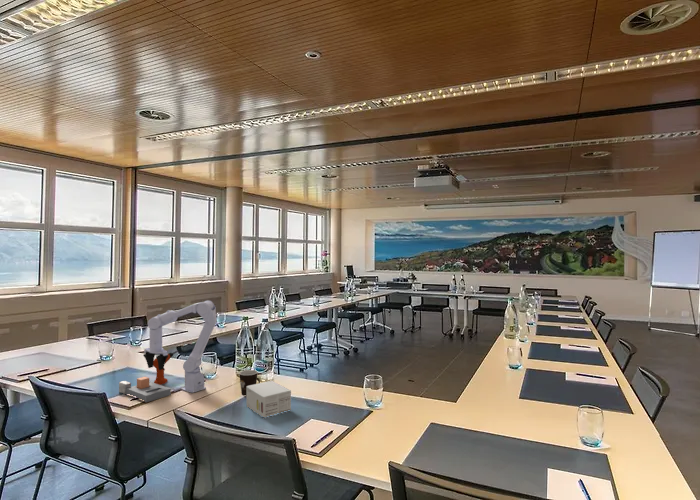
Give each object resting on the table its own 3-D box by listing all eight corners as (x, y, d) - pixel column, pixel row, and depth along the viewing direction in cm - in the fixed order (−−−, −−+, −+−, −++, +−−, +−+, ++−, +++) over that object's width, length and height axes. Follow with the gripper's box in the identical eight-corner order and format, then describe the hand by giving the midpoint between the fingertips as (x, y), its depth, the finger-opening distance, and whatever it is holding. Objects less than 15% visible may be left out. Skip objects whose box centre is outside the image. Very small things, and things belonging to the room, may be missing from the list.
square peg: (149, 392, 199) (149, 378, 199) (141, 394, 196) (141, 380, 196) (144, 390, 202) (145, 376, 202) (136, 393, 198) (136, 378, 198)
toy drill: (183, 372, 227) (180, 346, 225) (159, 387, 209) (157, 359, 207) (175, 371, 228) (173, 345, 226) (151, 386, 210) (149, 358, 208)
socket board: (170, 394, 196) (170, 388, 196) (146, 402, 186) (146, 395, 186) (150, 387, 206) (150, 381, 206) (125, 394, 196) (125, 388, 196)
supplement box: (245, 407, 181) (245, 385, 181) (272, 400, 189) (272, 380, 189) (263, 419, 168) (263, 396, 168) (291, 411, 176) (291, 389, 176)
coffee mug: (237, 392, 200) (237, 371, 200) (255, 389, 204) (255, 369, 204) (242, 399, 190) (242, 378, 190) (261, 396, 194) (261, 375, 194)
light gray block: (130, 393, 198) (130, 383, 198) (125, 394, 196) (125, 384, 196) (124, 390, 202) (124, 380, 202) (119, 392, 199) (119, 382, 199)
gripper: (172, 340, 204) (172, 368, 204) (153, 338, 210) (153, 364, 210) (160, 343, 197) (160, 372, 197) (140, 340, 204) (140, 368, 204)
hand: (155, 368), depth 203 cm, fingers open, 7 cm apart
